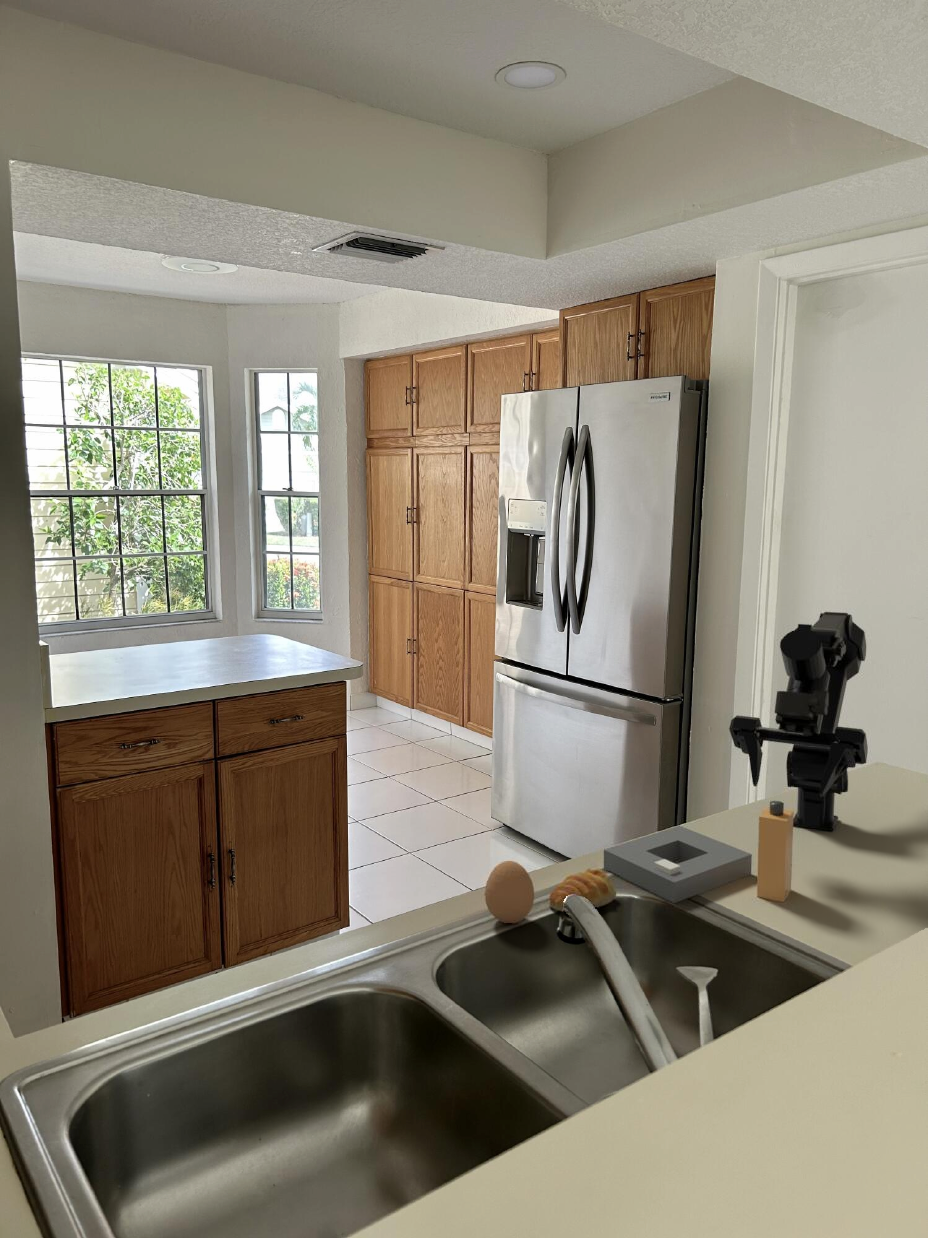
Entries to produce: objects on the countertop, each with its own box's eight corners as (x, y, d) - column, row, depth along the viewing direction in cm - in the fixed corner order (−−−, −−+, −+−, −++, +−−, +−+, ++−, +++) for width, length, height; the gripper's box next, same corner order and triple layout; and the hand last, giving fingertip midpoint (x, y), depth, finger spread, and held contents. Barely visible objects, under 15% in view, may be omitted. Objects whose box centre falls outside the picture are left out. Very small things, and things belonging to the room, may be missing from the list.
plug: (764, 884, 129) (767, 796, 127) (791, 889, 127) (793, 800, 125) (757, 896, 125) (759, 806, 123) (784, 902, 123) (787, 810, 121)
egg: (524, 907, 123) (524, 849, 122) (541, 929, 117) (541, 868, 116) (479, 914, 122) (478, 855, 120) (494, 937, 115) (493, 875, 114)
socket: (679, 843, 144) (679, 820, 143) (751, 873, 132) (751, 849, 132) (603, 868, 135) (603, 844, 135) (674, 903, 124) (674, 876, 123)
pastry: (572, 922, 119) (572, 895, 119) (536, 905, 124) (536, 879, 124) (620, 901, 125) (619, 874, 125) (584, 885, 130) (583, 860, 130)
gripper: (734, 663, 137) (711, 753, 129) (868, 674, 127) (853, 771, 119) (746, 703, 145) (725, 790, 137) (873, 716, 135) (859, 810, 127)
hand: (787, 790), depth 130 cm, fingers open, 9 cm apart
